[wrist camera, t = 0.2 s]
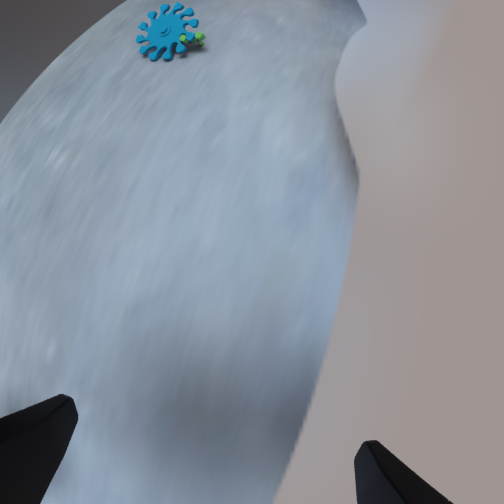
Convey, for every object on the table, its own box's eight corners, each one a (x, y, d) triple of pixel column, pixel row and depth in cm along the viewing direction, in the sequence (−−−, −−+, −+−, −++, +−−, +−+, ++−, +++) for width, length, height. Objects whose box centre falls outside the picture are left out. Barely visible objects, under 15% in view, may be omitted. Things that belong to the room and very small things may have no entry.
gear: (123, 52, 33) (151, -3, 29) (143, 58, 39) (168, 8, 34) (182, 68, 34) (214, 8, 29) (198, 75, 39) (225, 21, 34)
